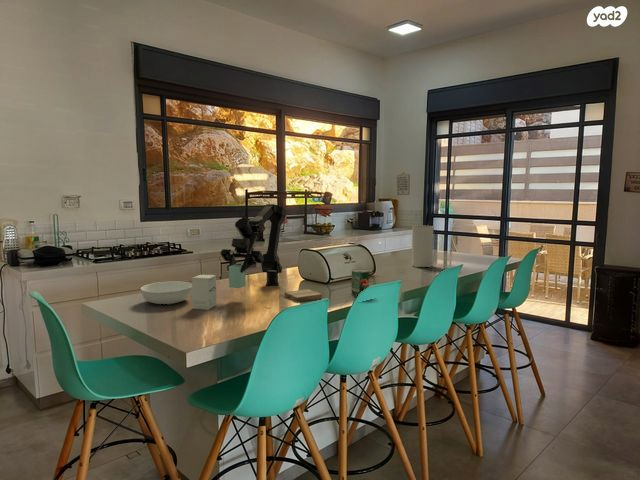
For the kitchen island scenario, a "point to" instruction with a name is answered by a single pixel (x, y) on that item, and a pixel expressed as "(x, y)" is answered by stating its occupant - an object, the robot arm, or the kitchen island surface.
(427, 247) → the cylinder vase
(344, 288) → the kitchen island surface
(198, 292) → the supplement box
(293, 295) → the walnut board
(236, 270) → the teal block
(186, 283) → the serving bowl
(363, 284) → the canned tomato
